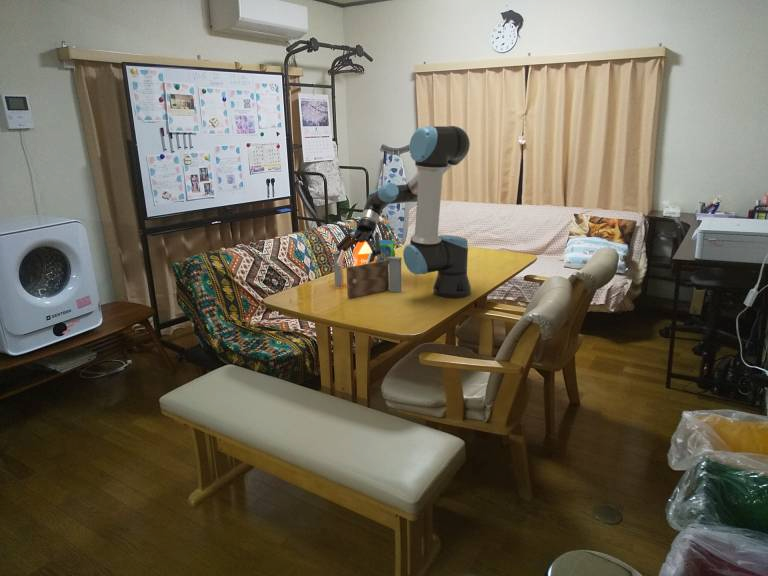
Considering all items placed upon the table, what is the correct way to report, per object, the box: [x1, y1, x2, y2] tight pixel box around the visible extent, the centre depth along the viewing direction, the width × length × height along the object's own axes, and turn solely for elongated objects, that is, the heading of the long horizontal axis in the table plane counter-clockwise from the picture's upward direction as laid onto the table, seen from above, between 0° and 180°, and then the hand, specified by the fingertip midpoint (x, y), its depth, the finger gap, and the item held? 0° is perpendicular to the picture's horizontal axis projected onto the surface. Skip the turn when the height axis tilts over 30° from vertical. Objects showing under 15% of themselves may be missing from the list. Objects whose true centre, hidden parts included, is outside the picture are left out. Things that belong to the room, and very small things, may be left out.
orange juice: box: [352, 241, 376, 266], centre depth 225 cm, size 8×9×20 cm
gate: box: [346, 260, 390, 299], centre depth 212 cm, size 19×2×12 cm, turn 123°
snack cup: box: [373, 239, 397, 264], centre depth 266 cm, size 16×10×10 cm
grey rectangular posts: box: [332, 251, 402, 293], centre depth 220 cm, size 30×3×14 cm, turn 66°
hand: (352, 266), depth 215 cm, fingers open, 12 cm apart
